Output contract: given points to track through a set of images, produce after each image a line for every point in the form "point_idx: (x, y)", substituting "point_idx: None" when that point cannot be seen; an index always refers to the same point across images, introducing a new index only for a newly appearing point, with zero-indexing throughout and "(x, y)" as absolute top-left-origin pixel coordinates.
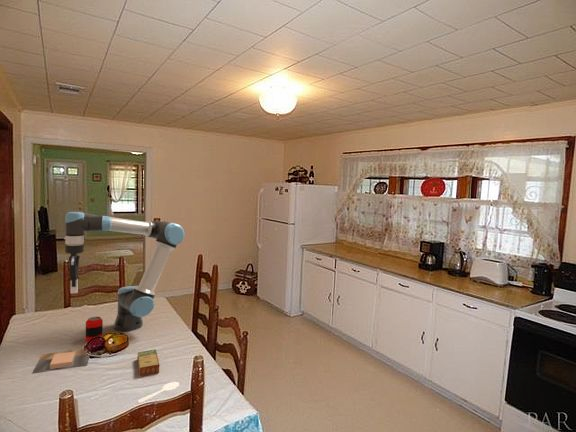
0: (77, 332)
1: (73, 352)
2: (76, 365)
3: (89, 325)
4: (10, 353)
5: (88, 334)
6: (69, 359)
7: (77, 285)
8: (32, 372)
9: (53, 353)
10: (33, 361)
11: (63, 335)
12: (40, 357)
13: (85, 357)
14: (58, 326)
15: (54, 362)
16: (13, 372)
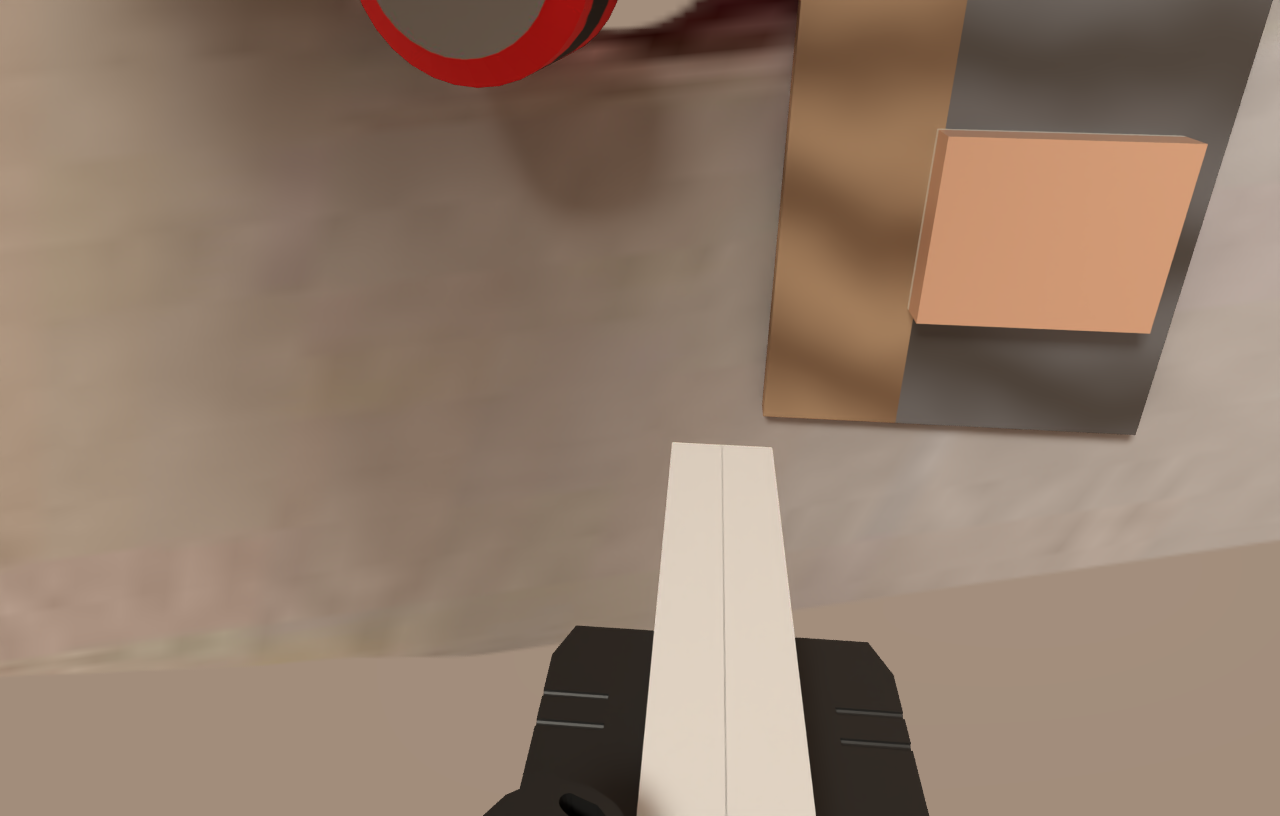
0: (238, 174)
1: (969, 154)
2: (1201, 91)
3: (580, 22)
4: (605, 607)
5: (590, 28)
6: (1138, 174)
7: (697, 592)
8: (1117, 432)
9: (786, 332)
10: (831, 450)
11: (303, 299)
12: (830, 418)
13: (1043, 14)
14: (60, 369)
15: (1126, 302)
16: (973, 541)
